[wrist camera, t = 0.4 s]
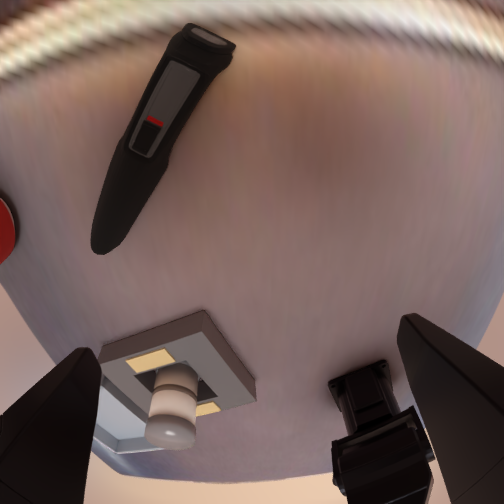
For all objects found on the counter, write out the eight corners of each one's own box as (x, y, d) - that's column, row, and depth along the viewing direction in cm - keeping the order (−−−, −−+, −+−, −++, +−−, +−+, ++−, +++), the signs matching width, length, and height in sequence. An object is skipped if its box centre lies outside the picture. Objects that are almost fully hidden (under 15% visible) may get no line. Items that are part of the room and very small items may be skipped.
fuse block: (255, 381, 30) (256, 403, 27) (162, 405, 31) (159, 425, 29) (204, 309, 25) (201, 333, 23) (102, 346, 27) (94, 367, 24)
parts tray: (178, 430, 34) (176, 447, 32) (119, 438, 36) (115, 453, 34) (107, 366, 28) (101, 385, 26) (50, 382, 30) (43, 398, 28)
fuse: (208, 373, 29) (204, 446, 22) (173, 383, 30) (163, 452, 23) (185, 346, 27) (176, 423, 20) (149, 358, 28) (133, 430, 21)
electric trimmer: (87, 221, 22) (70, 242, 19) (188, 21, 15) (179, 10, 13) (131, 244, 23) (118, 267, 20) (241, 48, 17) (242, 41, 14)
